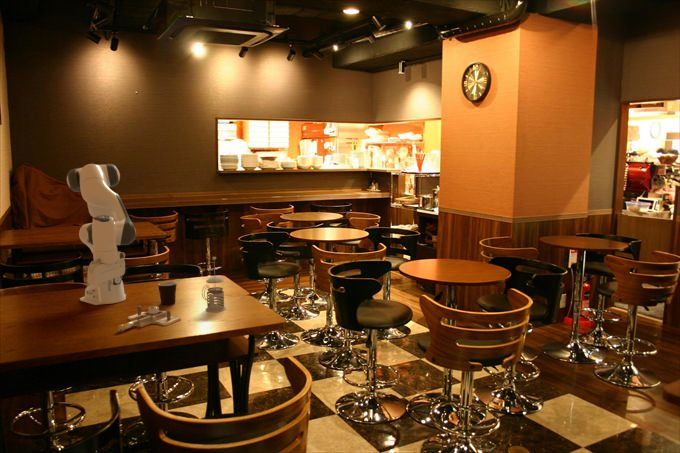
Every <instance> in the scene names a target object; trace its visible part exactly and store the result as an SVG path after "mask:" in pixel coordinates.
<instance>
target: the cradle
mask: <svg viewBox="0 0 680 453" xmlns="http://www.w3.org/2000/svg"><path fill="white" fill-rule="evenodd" d="M136 310H137V313H136V314H133V315H130V316H128V317H127V320H130V322H131V321H134V320H138V321H139V324H138V327H139V328H143V327H146V326H148V325H151V324H154V325H158V326H159V325H160V326H164V327H165V326H169V325H171V324H174V323H177V322H179V321H182V320H181V319H182V318H181V317H177V316H172V315H171V310H166V311H165V310H159V314H158V315H155V316H152V315H149V314H148V311H142V306H141V305H137V307H136Z"/></svg>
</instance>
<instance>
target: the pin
mask: <svg viewBox="0 0 680 453" xmlns="http://www.w3.org/2000/svg"><path fill="white" fill-rule="evenodd" d="M136 326H139V321H138V320H134V321H131V320H130V321H128V322H125V323H124V324H122V323H121V324H118V325H117V331H118V332H119V333H123V332H125V331H126V330H128V329H132V328H134V327H136Z"/></svg>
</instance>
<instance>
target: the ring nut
mask: <svg viewBox="0 0 680 453" xmlns="http://www.w3.org/2000/svg"><path fill="white" fill-rule="evenodd" d="M159 311H160V307H159V306H157V305H153V306H148V310H147V312H148V314H149V315H152V316H155V315H158V314H159Z"/></svg>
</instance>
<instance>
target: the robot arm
mask: <svg viewBox="0 0 680 453" xmlns="http://www.w3.org/2000/svg"><path fill="white" fill-rule="evenodd" d="M120 179H121V174H120V171H119V169H118V168H117V166H116V165H114V164H113V163H106V164H95V163H89V164H86V165H84V166H83V167H78V168H73V169H70V170H69V171H68V173H67V176H66V183H67V185H68V188H70V190H71V191H72V192H74V193H75V192H76V193H81V197H82V199H83V201H85V202H86V204H87V209H88V213H89V215H90V216H91V217H92V222H89V223H85V224H82V225H81V227H80V229H79V232H78V235H79V236H78V237H79V239H80V241H81V242H82V243H83V244H84V245H86V246H87V247H88V248H89V250H90V251H91V252H92V254H93V256H92V257H93V258H92V259H93V260H91V261H90V263H89V265H88V268H87V276H86V277H87V279H86V280H87V281H86V282H87V284H88V286H86V288H85V289H84V296H82V297H80V298H79V300H80V301H81V302H85V303H88V304H90V305H94V306H98V305H108V304H109V305H110V304H117V303H121V302H123V301H125V300H126V299H127V294H126V293H125V288H124V287H125V286H124V283H123V282H124V281H123V280H122V279H123V276H124V275H125V273H126V262H125V257H126V254H125V252H121V251H118V246H129V245H130V244H132V243H133V242H134V241H135V240H136V239H137V238H136V237H137V230H136V228H135V225H134V222H132V220H131V219H130V216H129V214H128V211H127V210H126V207H125V205H124V203H123V200H122V198H121V197H120V195H119V194H118V193H117V192H115V191H113V190H112V189H111V188H113V187H116V186H118V184H119V183H120ZM110 187H111V188H110ZM80 301H79V302H80Z"/></svg>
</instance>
